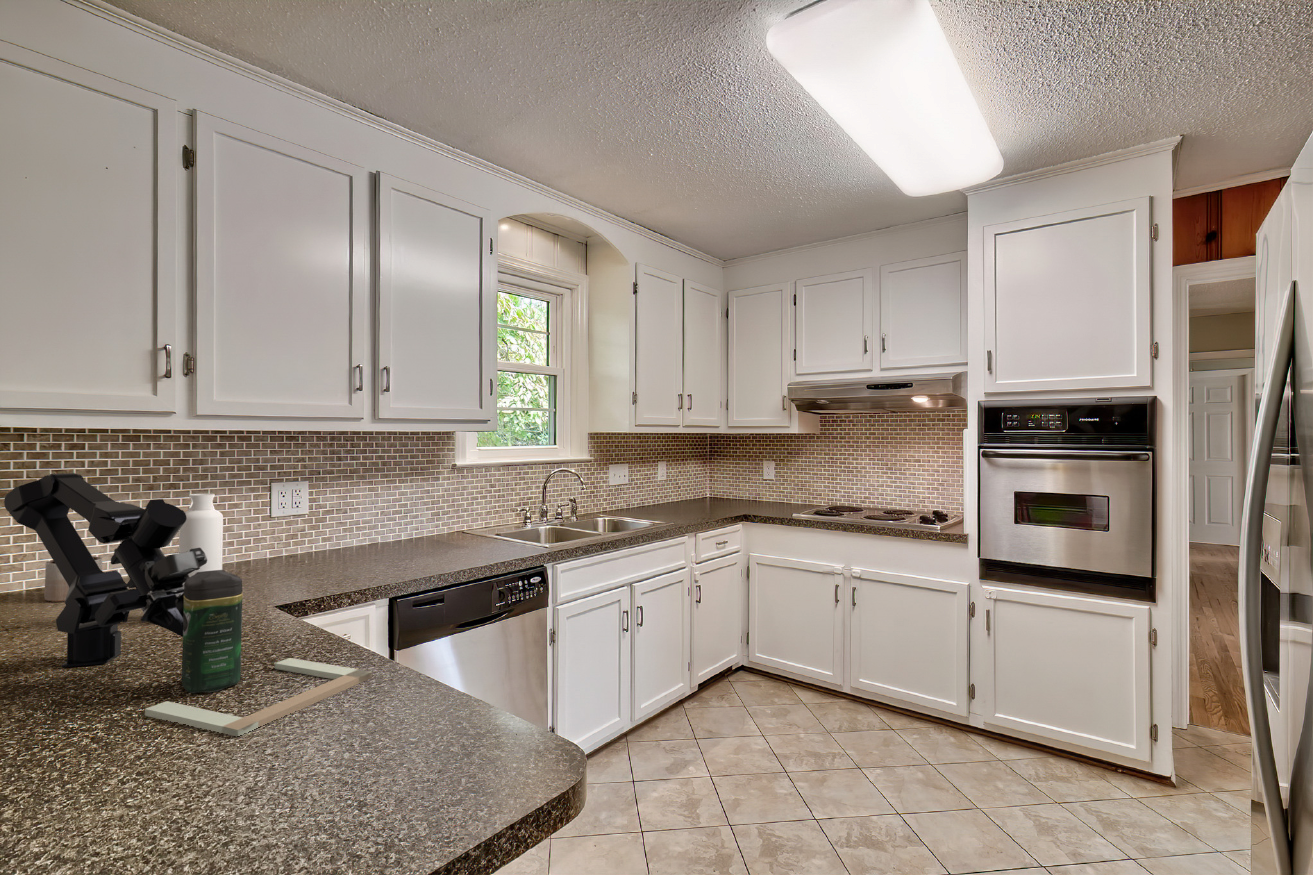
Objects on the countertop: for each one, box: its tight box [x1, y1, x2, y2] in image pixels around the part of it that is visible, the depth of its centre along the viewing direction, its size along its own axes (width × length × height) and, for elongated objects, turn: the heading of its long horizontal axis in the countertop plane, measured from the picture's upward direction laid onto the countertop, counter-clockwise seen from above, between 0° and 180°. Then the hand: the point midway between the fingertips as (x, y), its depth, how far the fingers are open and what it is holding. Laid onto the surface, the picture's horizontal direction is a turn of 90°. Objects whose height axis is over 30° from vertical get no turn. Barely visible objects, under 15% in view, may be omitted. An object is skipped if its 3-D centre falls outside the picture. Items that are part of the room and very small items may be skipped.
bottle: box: [178, 493, 224, 587], centre depth 145 cm, size 8×8×28 cm
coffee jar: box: [181, 569, 244, 694], centre depth 106 cm, size 10×8×19 cm
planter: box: [43, 555, 103, 603], centre depth 163 cm, size 11×11×10 cm
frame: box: [144, 657, 373, 737], centre depth 102 cm, size 19×24×1 cm
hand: (190, 636), depth 108 cm, fingers closed
